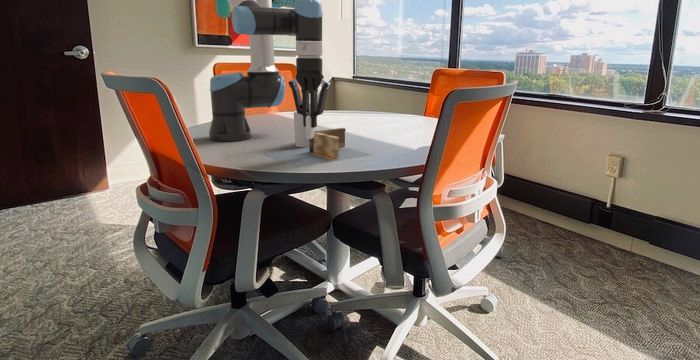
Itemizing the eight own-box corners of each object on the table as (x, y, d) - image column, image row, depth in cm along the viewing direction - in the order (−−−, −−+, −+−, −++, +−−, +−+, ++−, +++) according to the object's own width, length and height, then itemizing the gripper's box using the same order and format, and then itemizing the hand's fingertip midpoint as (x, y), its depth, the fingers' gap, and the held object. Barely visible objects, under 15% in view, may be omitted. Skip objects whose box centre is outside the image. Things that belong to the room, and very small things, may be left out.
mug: (316, 148, 154) (315, 112, 150) (295, 149, 152) (294, 112, 149) (311, 142, 163) (311, 108, 160) (292, 143, 162) (291, 108, 158)
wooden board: (312, 152, 144) (312, 132, 143) (317, 151, 145) (317, 132, 144) (334, 158, 136) (334, 137, 135) (339, 157, 138) (339, 137, 136)
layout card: (262, 155, 144) (262, 153, 143) (334, 144, 159) (334, 143, 159) (296, 169, 127) (296, 167, 127) (372, 156, 143) (372, 154, 143)
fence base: (308, 151, 146) (307, 131, 144) (342, 146, 154) (342, 127, 152) (311, 152, 145) (311, 132, 143) (345, 147, 152) (345, 128, 150)
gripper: (282, 56, 131) (285, 138, 138) (324, 58, 126) (325, 142, 133) (294, 56, 138) (296, 133, 144) (335, 57, 133) (335, 137, 140)
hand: (310, 137), depth 139 cm, fingers closed
